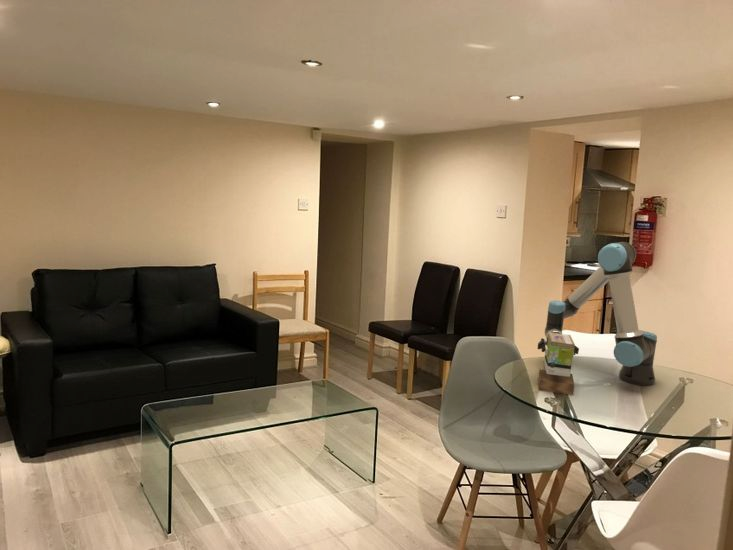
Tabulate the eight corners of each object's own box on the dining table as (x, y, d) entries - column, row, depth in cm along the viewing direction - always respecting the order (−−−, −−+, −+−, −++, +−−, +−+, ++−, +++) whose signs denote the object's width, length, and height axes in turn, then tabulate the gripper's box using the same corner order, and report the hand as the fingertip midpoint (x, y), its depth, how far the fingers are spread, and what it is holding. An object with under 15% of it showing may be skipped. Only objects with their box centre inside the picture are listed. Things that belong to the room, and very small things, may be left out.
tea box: (570, 377, 249) (575, 344, 246) (546, 374, 251) (550, 341, 248) (566, 365, 263) (570, 333, 260) (543, 362, 265) (547, 331, 262)
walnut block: (570, 384, 263) (572, 373, 262) (572, 395, 250) (574, 384, 249) (538, 379, 267) (539, 369, 266) (538, 390, 254) (539, 379, 253)
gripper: (579, 350, 272) (586, 365, 251) (529, 344, 277) (531, 359, 255) (581, 334, 271) (588, 349, 249) (531, 328, 275) (533, 342, 254)
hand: (559, 354), depth 252 cm, fingers closed on tea box, 10 cm apart
